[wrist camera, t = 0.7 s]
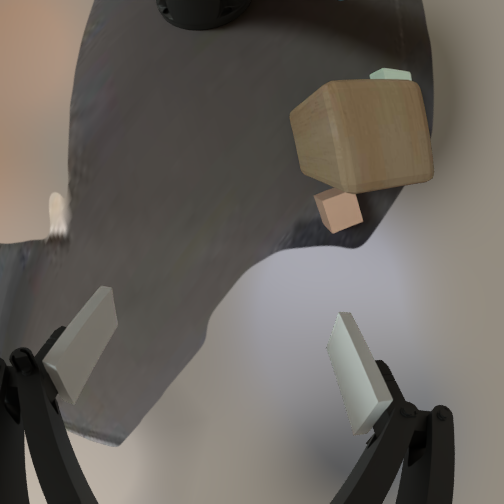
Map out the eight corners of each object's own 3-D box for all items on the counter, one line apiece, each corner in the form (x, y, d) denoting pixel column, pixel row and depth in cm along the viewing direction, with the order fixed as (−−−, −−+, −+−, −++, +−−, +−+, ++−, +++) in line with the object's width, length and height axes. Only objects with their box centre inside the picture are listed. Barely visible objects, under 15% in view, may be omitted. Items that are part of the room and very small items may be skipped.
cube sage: (369, 74, 34) (382, 67, 29) (395, 77, 34) (410, 72, 29) (373, 103, 36) (388, 98, 31) (399, 105, 36) (415, 101, 31)
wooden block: (348, 104, 36) (421, 78, 17) (360, 165, 39) (438, 182, 21) (286, 111, 37) (322, 79, 18) (300, 175, 40) (346, 198, 21)
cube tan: (313, 195, 41) (322, 201, 37) (342, 184, 41) (354, 189, 36) (323, 224, 43) (332, 233, 38) (351, 213, 42) (363, 221, 38)
